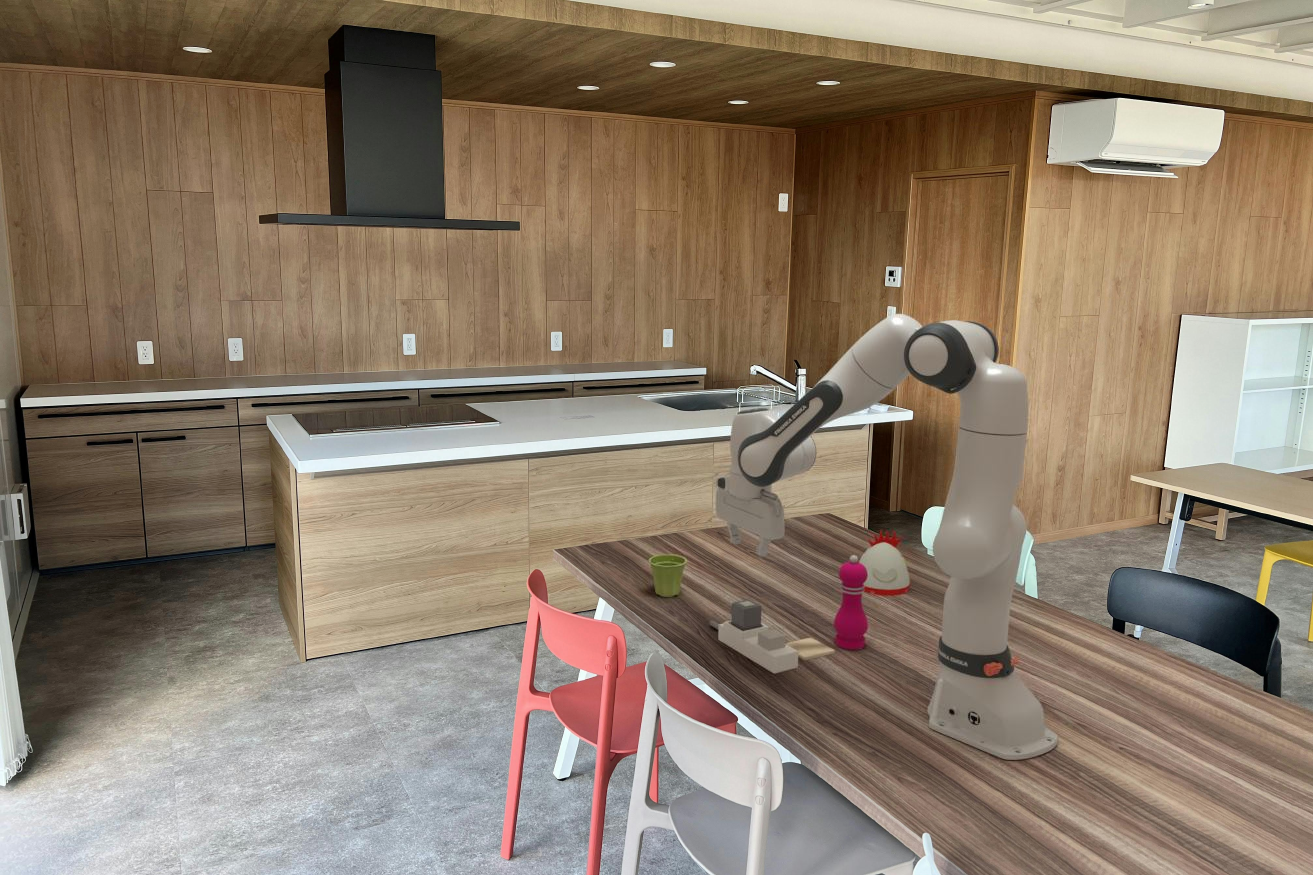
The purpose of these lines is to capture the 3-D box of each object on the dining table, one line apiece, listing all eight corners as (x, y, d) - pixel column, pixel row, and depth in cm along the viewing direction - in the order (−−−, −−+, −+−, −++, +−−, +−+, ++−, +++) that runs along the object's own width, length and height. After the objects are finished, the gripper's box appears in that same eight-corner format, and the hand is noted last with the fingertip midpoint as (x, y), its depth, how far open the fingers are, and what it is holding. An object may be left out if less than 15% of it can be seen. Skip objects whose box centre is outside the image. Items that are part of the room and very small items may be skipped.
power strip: (799, 666, 187) (800, 639, 186) (772, 674, 183) (773, 645, 182) (723, 622, 210) (723, 597, 209) (697, 628, 207) (698, 603, 206)
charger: (760, 632, 196) (761, 604, 195) (743, 636, 193) (744, 608, 192) (748, 625, 200) (749, 598, 198) (731, 629, 197) (731, 602, 196)
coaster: (834, 652, 194) (834, 650, 194) (805, 660, 190) (805, 657, 190) (810, 639, 201) (810, 637, 201) (781, 647, 197) (781, 644, 197)
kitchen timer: (912, 597, 228) (915, 539, 226) (855, 594, 231) (858, 536, 228) (906, 579, 242) (909, 524, 239) (852, 576, 244) (855, 521, 242)
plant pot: (686, 599, 225) (687, 565, 224) (648, 599, 225) (648, 565, 224) (686, 587, 234) (686, 554, 233) (649, 586, 235) (649, 554, 233)
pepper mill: (867, 652, 194) (871, 561, 191) (832, 649, 196) (836, 559, 192) (866, 639, 201) (871, 551, 198) (833, 636, 203) (836, 549, 199)
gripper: (793, 494, 184) (790, 560, 186) (735, 474, 201) (733, 535, 204) (768, 497, 181) (765, 565, 183) (711, 477, 198) (709, 538, 200)
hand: (748, 549), depth 193 cm, fingers open, 8 cm apart
